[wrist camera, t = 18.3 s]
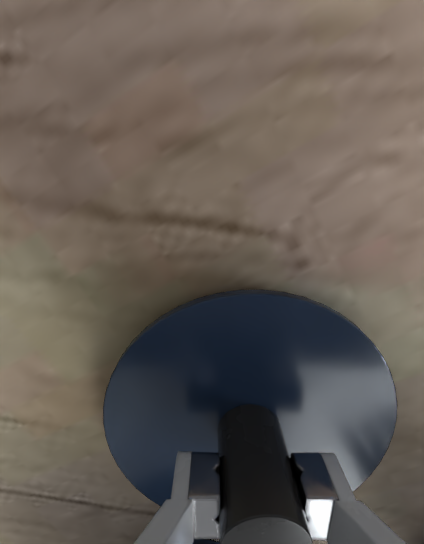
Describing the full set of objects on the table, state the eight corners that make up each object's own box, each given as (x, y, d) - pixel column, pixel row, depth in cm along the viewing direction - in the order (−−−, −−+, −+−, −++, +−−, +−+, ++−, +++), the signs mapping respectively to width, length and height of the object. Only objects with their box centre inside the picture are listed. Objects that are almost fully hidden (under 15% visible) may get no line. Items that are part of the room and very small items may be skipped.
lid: (62, 337, 12) (-44, 447, 7) (352, 240, 10) (472, 290, 6) (172, 525, 15) (153, 688, 10) (401, 469, 14) (503, 625, 9)
